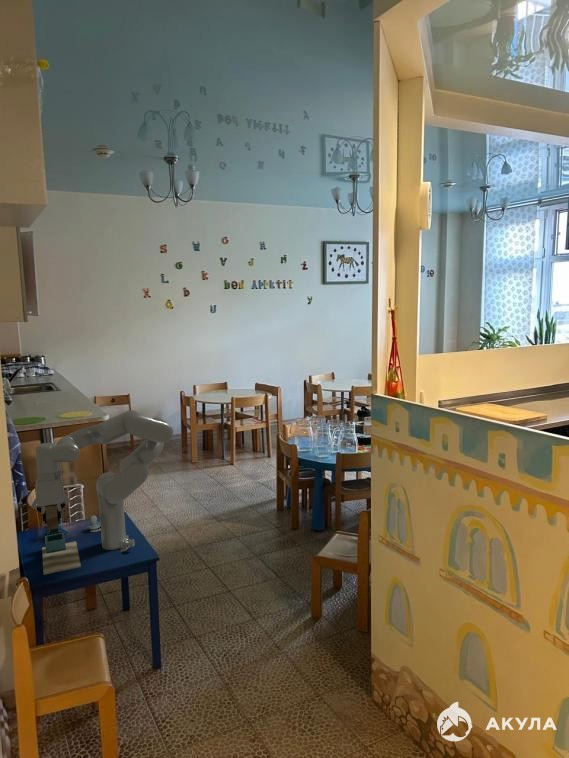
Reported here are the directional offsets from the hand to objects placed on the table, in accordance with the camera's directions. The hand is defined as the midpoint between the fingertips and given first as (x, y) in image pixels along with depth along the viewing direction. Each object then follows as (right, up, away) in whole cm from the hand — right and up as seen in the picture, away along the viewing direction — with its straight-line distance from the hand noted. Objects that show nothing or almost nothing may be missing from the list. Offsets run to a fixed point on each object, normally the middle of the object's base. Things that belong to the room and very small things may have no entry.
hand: (52, 520), depth 218 cm
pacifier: (+6, -12, +31) cm, 34 cm away
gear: (-9, -13, +26) cm, 31 cm away
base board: (+2, -16, +4) cm, 17 cm away
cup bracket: (-1, -15, +6) cm, 16 cm away
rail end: (0, -2, 0) cm, 2 cm away
